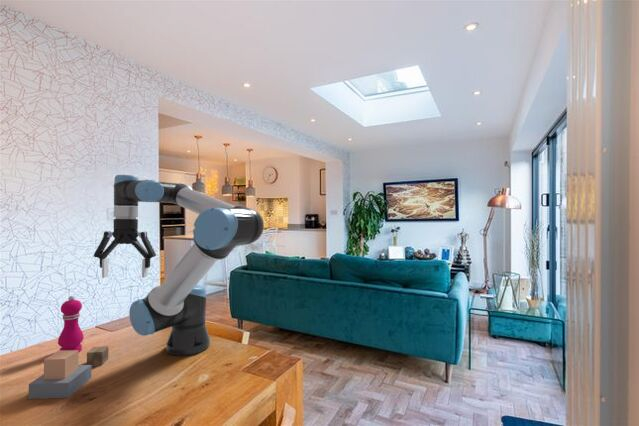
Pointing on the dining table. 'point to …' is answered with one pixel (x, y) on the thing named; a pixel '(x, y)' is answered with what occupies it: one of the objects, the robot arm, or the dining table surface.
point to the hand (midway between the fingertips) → (125, 276)
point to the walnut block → (97, 356)
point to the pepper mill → (71, 326)
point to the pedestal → (60, 384)
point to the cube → (60, 364)
